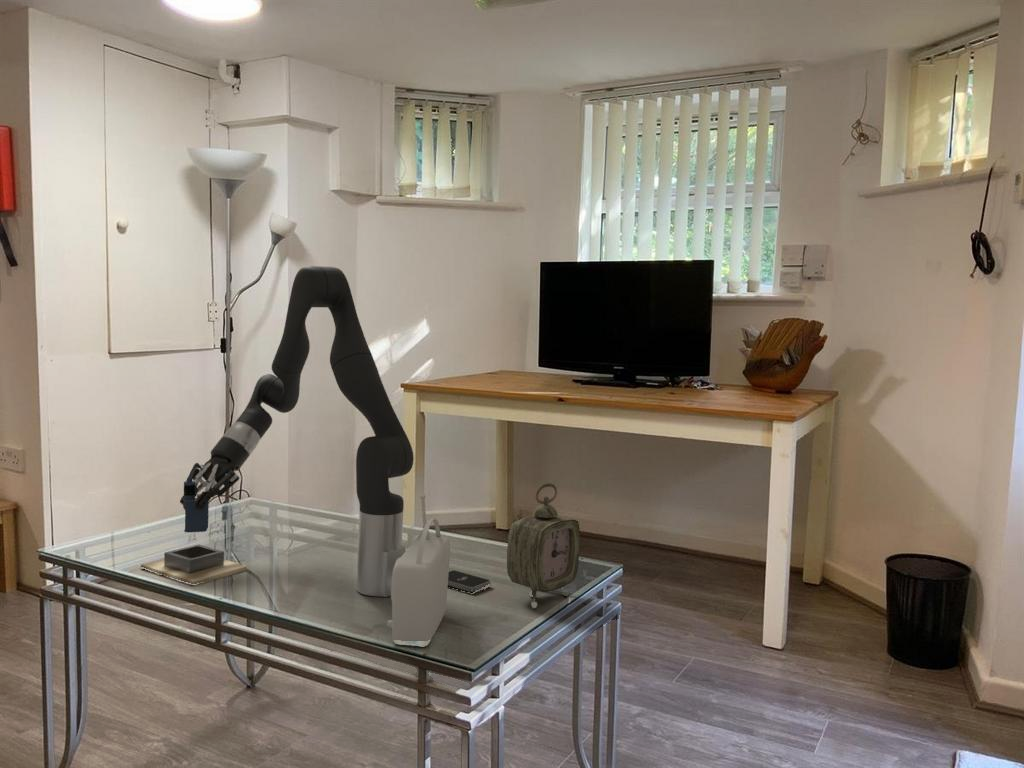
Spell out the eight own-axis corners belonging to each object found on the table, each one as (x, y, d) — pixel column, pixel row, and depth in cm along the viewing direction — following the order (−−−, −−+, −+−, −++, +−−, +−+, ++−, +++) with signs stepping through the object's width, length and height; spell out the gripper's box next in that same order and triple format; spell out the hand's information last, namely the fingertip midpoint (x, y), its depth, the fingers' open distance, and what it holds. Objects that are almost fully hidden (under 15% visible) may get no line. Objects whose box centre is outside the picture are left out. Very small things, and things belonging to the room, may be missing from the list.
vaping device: (182, 529, 177) (183, 476, 176) (208, 528, 179) (209, 476, 178) (182, 533, 175) (183, 479, 174) (208, 531, 176) (209, 478, 176)
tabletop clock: (534, 613, 160) (541, 491, 158) (501, 602, 166) (506, 483, 164) (577, 597, 171) (583, 482, 169) (544, 586, 177) (549, 476, 175)
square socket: (223, 564, 179) (223, 551, 178) (189, 574, 171) (189, 560, 171) (198, 557, 183) (198, 544, 183) (164, 565, 176) (164, 552, 176)
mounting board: (246, 570, 178) (246, 566, 178) (192, 586, 167) (192, 581, 167) (195, 555, 188) (195, 550, 188) (140, 568, 176) (140, 564, 176)
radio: (408, 607, 160) (412, 485, 159) (448, 610, 160) (453, 487, 158) (380, 650, 139) (385, 509, 137) (426, 654, 138) (432, 513, 136)
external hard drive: (471, 597, 169) (472, 587, 169) (432, 585, 176) (433, 576, 176) (491, 589, 175) (491, 580, 175) (452, 578, 182) (453, 569, 181)
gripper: (206, 432, 186) (159, 491, 176) (247, 439, 178) (200, 501, 169) (225, 451, 191) (179, 510, 181) (266, 459, 183) (220, 521, 174)
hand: (190, 506), depth 175 cm, fingers closed on vaping device, 4 cm apart
